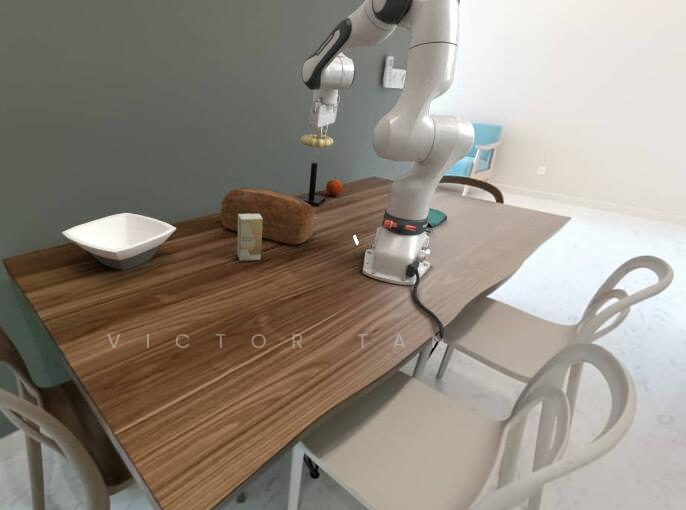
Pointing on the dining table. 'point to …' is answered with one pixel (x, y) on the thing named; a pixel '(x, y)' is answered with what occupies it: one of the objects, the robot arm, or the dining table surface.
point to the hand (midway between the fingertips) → (321, 138)
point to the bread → (270, 214)
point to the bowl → (121, 239)
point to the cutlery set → (435, 218)
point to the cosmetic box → (249, 236)
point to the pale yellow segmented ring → (316, 141)
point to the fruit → (334, 187)
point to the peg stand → (313, 189)
